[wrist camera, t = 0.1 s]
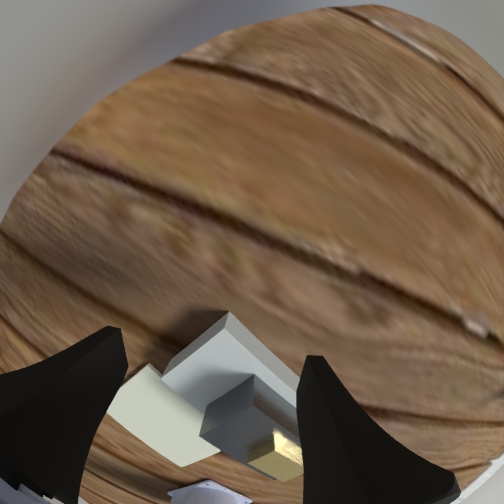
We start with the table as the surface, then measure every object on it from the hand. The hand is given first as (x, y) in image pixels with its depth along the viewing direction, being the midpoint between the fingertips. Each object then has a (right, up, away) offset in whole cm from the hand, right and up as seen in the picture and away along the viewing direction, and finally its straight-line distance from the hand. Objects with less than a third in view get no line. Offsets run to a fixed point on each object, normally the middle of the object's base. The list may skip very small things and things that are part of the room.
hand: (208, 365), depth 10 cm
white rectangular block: (+3, -8, +12) cm, 15 cm away
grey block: (+3, -9, +9) cm, 13 cm away
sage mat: (-7, -13, +13) cm, 20 cm away
